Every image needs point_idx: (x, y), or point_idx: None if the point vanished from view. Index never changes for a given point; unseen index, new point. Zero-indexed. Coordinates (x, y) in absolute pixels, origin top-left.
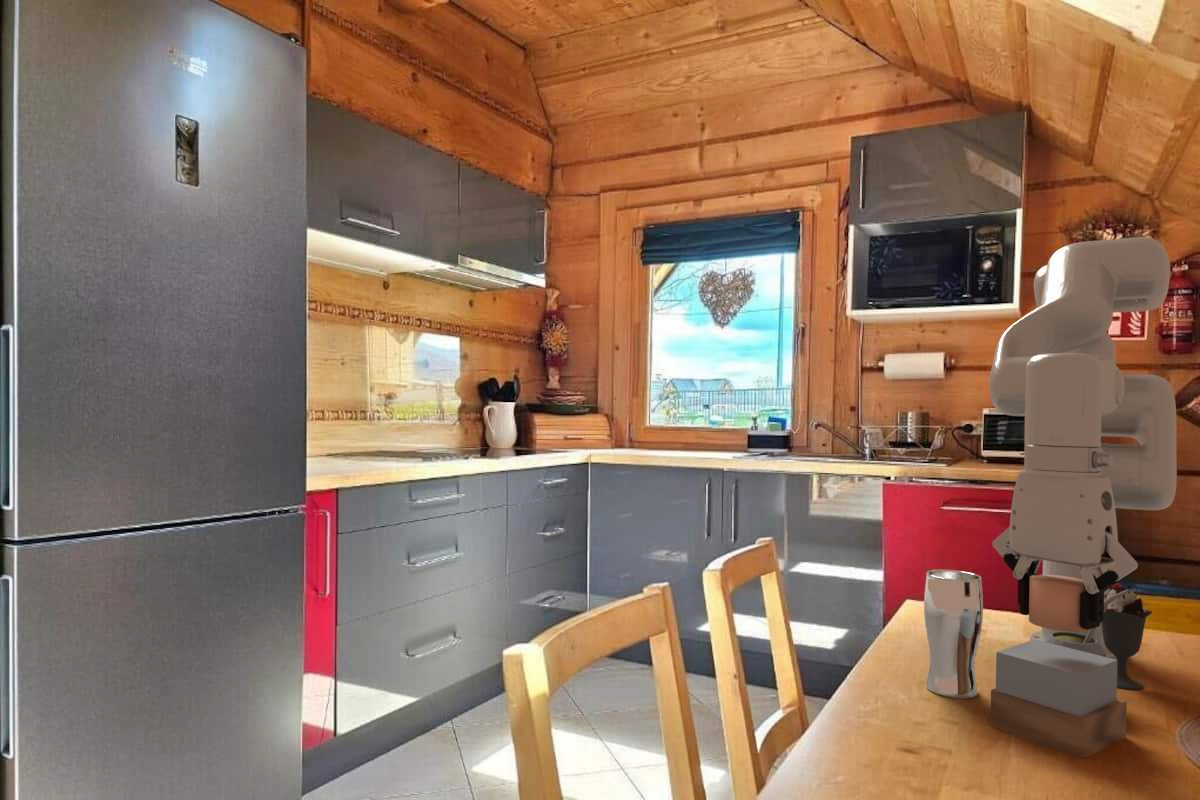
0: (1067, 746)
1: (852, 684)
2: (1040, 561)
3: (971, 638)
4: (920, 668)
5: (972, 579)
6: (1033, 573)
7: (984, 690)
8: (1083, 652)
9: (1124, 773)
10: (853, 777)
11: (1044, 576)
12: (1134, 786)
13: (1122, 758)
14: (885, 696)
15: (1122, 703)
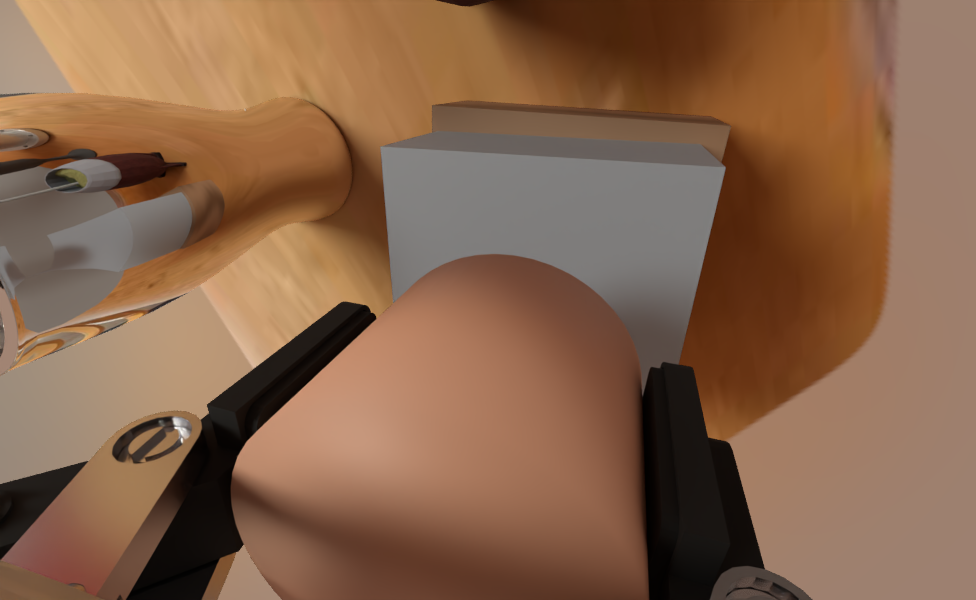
0: None
1: (211, 298)
2: (124, 568)
3: (246, 227)
4: (164, 64)
5: None
6: (208, 497)
7: (331, 83)
8: (580, 175)
9: (745, 347)
10: None
11: (290, 517)
12: (772, 393)
13: (728, 270)
14: (276, 309)
15: (721, 156)
